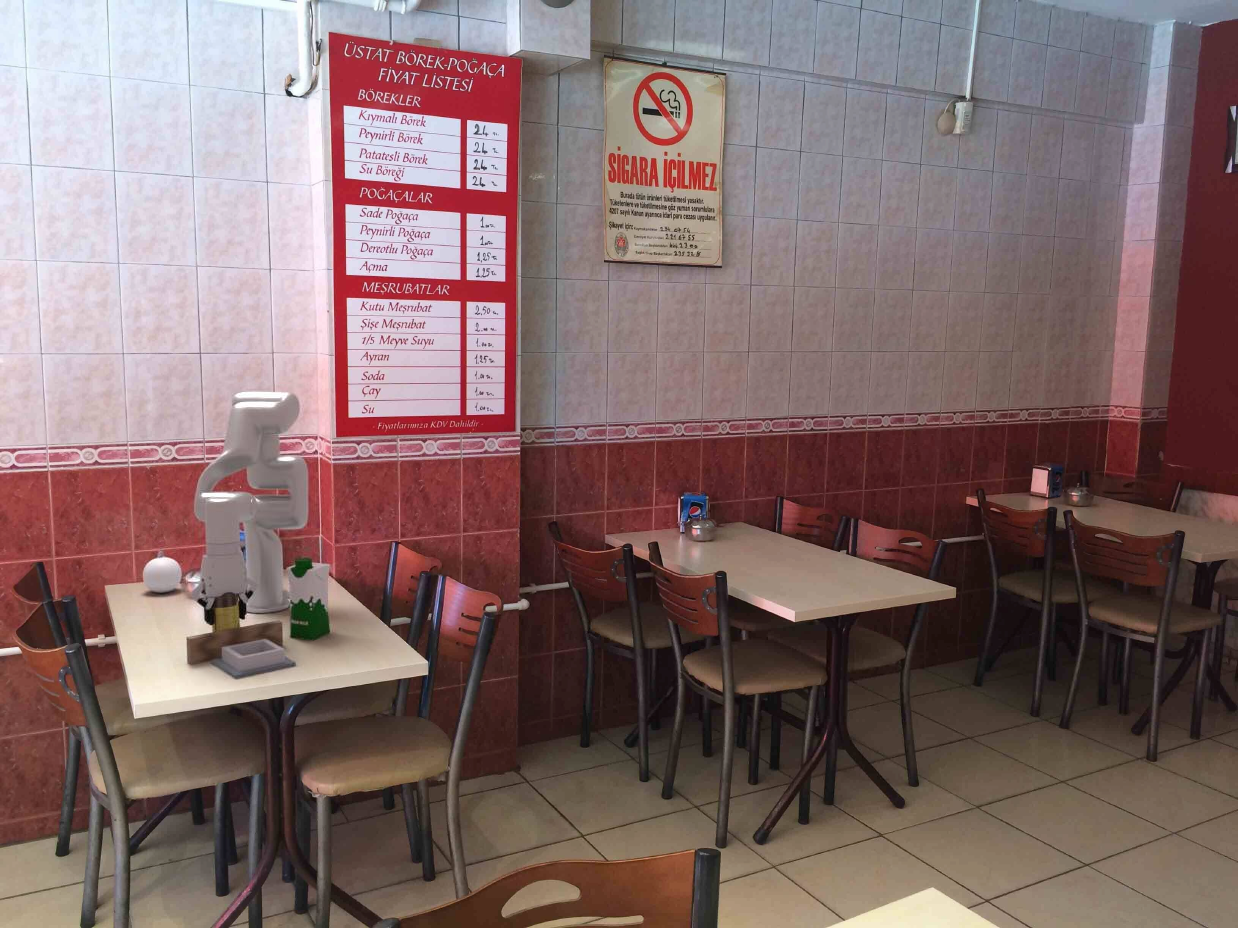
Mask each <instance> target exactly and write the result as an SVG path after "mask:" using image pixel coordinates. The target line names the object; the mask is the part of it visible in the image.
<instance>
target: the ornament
mask: <svg viewBox="0 0 1238 928" xmlns="http://www.w3.org/2000/svg"><path fill="white" fill-rule="evenodd" d="M182 573H183V572H182V568H181V566H180V564H179V563H178V562H177V561H176V560H175V559H173V558H170V557H166V556H165V554H164V551H163V550H158V553H157V557H156V558H153V559H151V560H150V561H149V562H147V563H146V565H145V566H144V568H143V571H142V580H143V584H144V585H145V586H146V588H147V589H148V590H149V591H152V592H155V593H160V594H161V593H162V594H163V593H168V592H171V591H173V590H175V589H176V588H177V587H179V585H180V583H181V580H182Z"/></svg>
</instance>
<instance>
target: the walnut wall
mask: <svg viewBox="0 0 1238 928" xmlns="http://www.w3.org/2000/svg"><path fill="white" fill-rule="evenodd" d="M283 631H284V630H283V621H281V620H280V619H279V620H273V621H266V622H261V623H256V624H250V625H246V626H245V625H244V626H240V627H239V628H233V629H228V630H222V631H217V632H207V633H201V634H197V635H196V634H195V635H191V636H190V635H189V636H186V637H185V639H186V659H187V660H186V661H187V664H189V665H195V664H200V663H205V662H210V661H211V660H212V659H217V658H222V647H226V646H231V645H237V644H242V643H247V642H252V641H257V640H262V639H267V640H269V641H271V642H272V643H274V644H276V645H278V646H280V647H283V646H284V641H283V640H284V636H283Z"/></svg>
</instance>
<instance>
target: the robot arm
mask: <svg viewBox="0 0 1238 928" xmlns="http://www.w3.org/2000/svg"><path fill="white" fill-rule="evenodd" d="M300 407H301V405H300V401H299V398H298V397H297V395H296V394H294V393H293V392H289V391H243V392H238V393H236V394H235V395H233V397H232V399H231V409H230V411H229V416H228V421H227V426H226V433H225V438H224V444H223V450H222V453H220V455H219V456H217V457H216V458H215V459H214V460H213V461H211V462H210V463H209V465H208V466H206V467H205V469H204V470H203V471H202V473H201V475H200V476H199V479H198V481H197V485H196V490H195V495H194V503H193V512H194V515H195V518H197V520H199V521H200V522H204V525H205V546H206V547H205V548H206V549H205V550H206V551H205V552H206V554H203V555H202V558H201V565H200V573H199V575H200V576H199V584H198V585H197V586H196V587H195V588H194V589H193V590H192V591H191V592H190V593H189V596H190V598H192V599H193V600H194V601H195V602H196V603H197V604H198V605H200V606H201V607H203V618H204V622H205V623H206V624H207V625H209V626H212V625H213V624H214V611H213V609H212V608H211V606H212V604H213V602H214V599H215V598H217V597H219V596H221V595H222V594H224V593H226V592H232V593H235V594H237V595H238V602H239V619H241V620H242V621H243V620H244V621H245V620H246V616H247V613H253V614H256V613H257V614H262V613H263V614H265V613H274V612H279V611H283V610H286V609H287V608H290V589H286V588H284V565H283V564H284V561H283V559H284V558H283V543H282V541H281V539H280V537H279V536H278V535H277V533H276V532H275V530H301V529H303V528H305V526H306V525H307V523H308V519H309V470H308V465H307V463H306V460H305V459H304V458H303V457H302V456H299V455H294V454H293V455H292V454H291V455H289V454H285V455H283V454H281V452H280V450H281V449H280V447H281V446H280V443H281V442H280V440H281V439H280V435H283V434H285V433H287V432H288V431H290V429H291V428H292V426H293V425H294V424H295V423H296V422H297V420H298V418H299V415H300V410H301V409H300ZM244 469H246V479H247V484H248V486H249V487H250V488H252V489H255V490H265V491H267V490H268V491H269V490H270V491H273V490H274V491H277V490H278V491H280V490H281V491H282V490H283V491H288V493H289V494H254V495H253V494H252V493H250V492H247V491H213V490H214V488H215V486H216V485H217V484H218V483H219V482H220V481H221V480H223V479H225V478H227V477H228V476H230V475H233V474H235V473H238V472H240V471H243V470H244ZM240 524H243V525H242V526H243V532H244V539H245V541H244V540H243V541H242V540H241V535H240V534H241V533H240V532H241V531H240ZM242 548H245V556H244V553H243V552H242ZM200 594H201V595H204V596H205V597H204V599H203V598H202V597H201V596H200Z"/></svg>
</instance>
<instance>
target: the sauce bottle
mask: <svg viewBox="0 0 1238 928" xmlns="http://www.w3.org/2000/svg"><path fill="white" fill-rule="evenodd" d="M238 601H239V599H238V595H237V594H235V593H232V592H226V593H224V594H222V595H221V596H219V597H217V598H215V599H214V602H213V604H212V606H211V608H212V609H213V611H214V624H213V625H211V631H212V632H217V631H222V630H228V629H233V628H239V627H241V622H240V618H239V602H238Z"/></svg>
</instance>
